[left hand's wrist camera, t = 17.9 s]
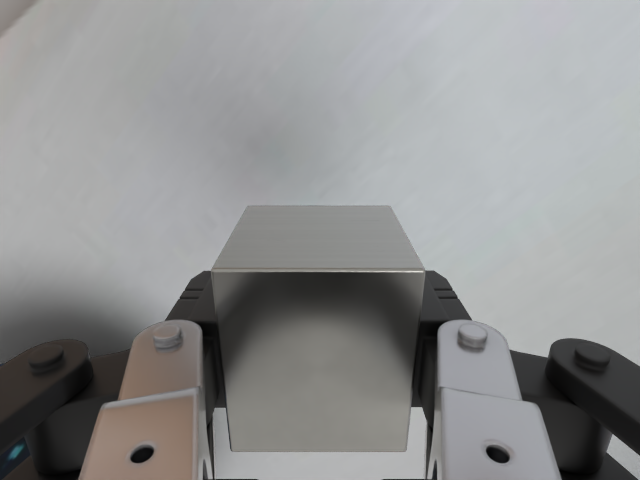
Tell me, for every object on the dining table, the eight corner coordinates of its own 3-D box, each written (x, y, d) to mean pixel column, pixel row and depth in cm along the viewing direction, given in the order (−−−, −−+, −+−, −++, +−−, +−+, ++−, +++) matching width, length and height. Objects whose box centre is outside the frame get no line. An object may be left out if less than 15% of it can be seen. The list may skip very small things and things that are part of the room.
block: (256, 343, 13) (230, 453, 9) (247, 204, 11) (209, 269, 8) (381, 343, 13) (406, 453, 9) (390, 205, 11) (426, 268, 8)
